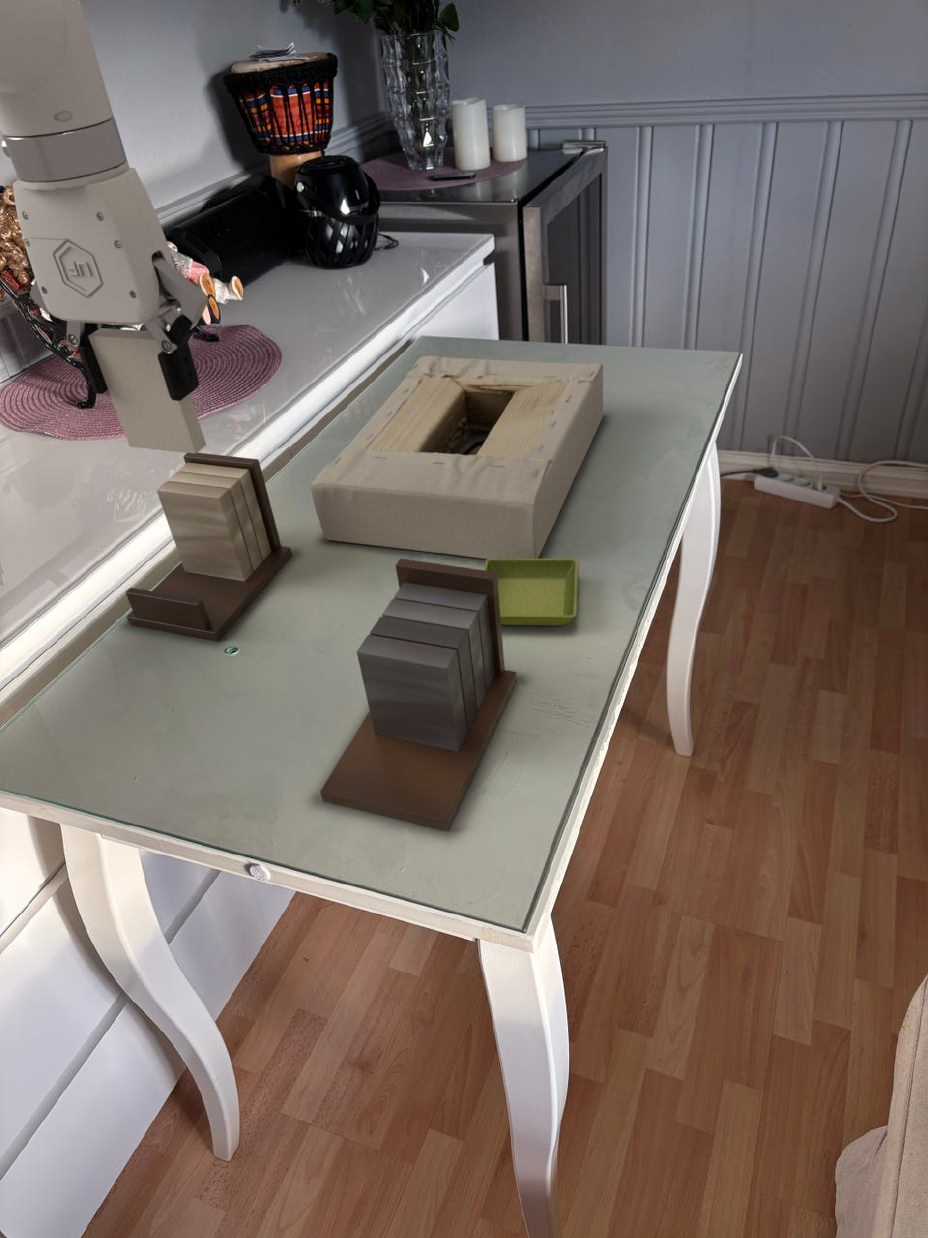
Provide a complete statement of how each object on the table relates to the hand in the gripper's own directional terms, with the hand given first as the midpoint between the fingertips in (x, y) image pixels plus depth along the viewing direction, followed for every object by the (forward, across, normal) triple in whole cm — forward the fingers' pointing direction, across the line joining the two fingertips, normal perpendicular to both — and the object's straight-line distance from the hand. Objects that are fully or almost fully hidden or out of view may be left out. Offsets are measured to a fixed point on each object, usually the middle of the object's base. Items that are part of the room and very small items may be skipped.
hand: (146, 388), depth 75 cm
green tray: (+22, +30, +6) cm, 38 cm away
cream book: (+5, 0, 0) cm, 5 cm away
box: (+22, +17, +27) cm, 39 cm away
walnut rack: (+22, +27, -12) cm, 37 cm away
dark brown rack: (+22, -1, +1) cm, 22 cm away
